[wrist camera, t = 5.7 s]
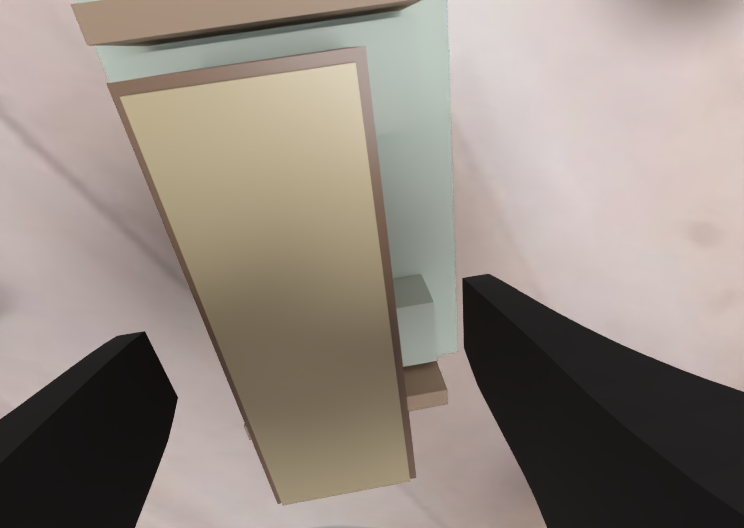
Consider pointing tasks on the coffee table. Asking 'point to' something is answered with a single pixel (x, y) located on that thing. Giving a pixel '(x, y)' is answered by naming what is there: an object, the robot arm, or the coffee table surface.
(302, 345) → the tan rectangular box
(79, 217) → the coffee table surface
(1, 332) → the coffee table surface
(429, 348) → the display cradle
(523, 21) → the coffee table surface
